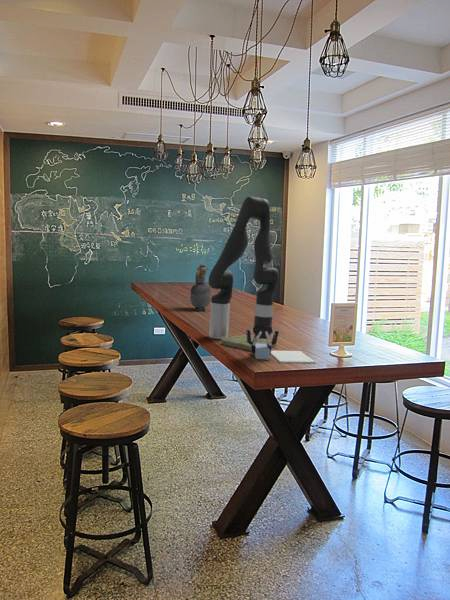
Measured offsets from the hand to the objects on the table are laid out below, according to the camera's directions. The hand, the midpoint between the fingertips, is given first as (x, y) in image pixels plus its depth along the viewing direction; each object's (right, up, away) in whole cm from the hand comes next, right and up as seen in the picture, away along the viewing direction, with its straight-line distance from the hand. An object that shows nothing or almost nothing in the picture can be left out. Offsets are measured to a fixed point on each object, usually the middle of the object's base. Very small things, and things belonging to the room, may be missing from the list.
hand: (260, 353), depth 225 cm
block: (0, -1, 0) cm, 1 cm away
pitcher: (-32, +17, +120) cm, 125 cm away
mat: (+13, -2, +1) cm, 13 cm away
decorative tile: (-4, +1, +21) cm, 21 cm away
